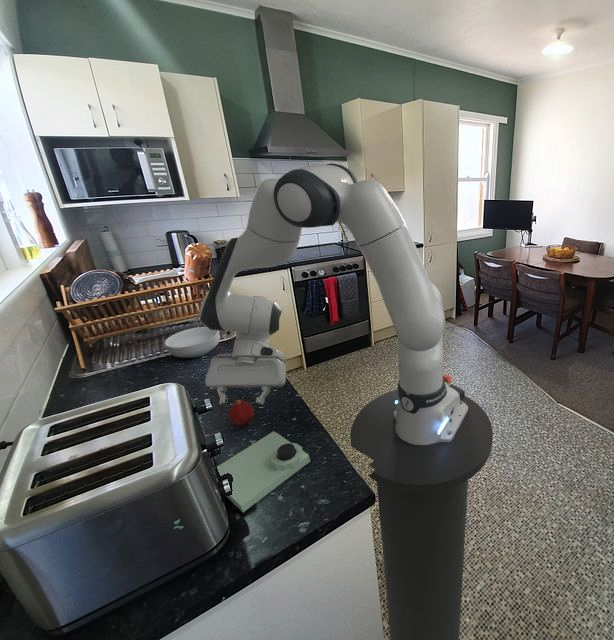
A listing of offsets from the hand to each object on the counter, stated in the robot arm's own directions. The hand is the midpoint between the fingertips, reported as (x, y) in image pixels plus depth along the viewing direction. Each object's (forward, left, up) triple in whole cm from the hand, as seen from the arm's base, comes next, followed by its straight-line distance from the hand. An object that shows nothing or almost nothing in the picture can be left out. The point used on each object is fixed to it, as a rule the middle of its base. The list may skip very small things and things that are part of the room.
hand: (241, 404), depth 90 cm
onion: (+1, +1, -6) cm, 6 cm away
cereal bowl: (-10, -52, -6) cm, 54 cm away
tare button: (+2, +23, -3) cm, 23 cm away
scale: (+7, +19, -6) cm, 21 cm away
